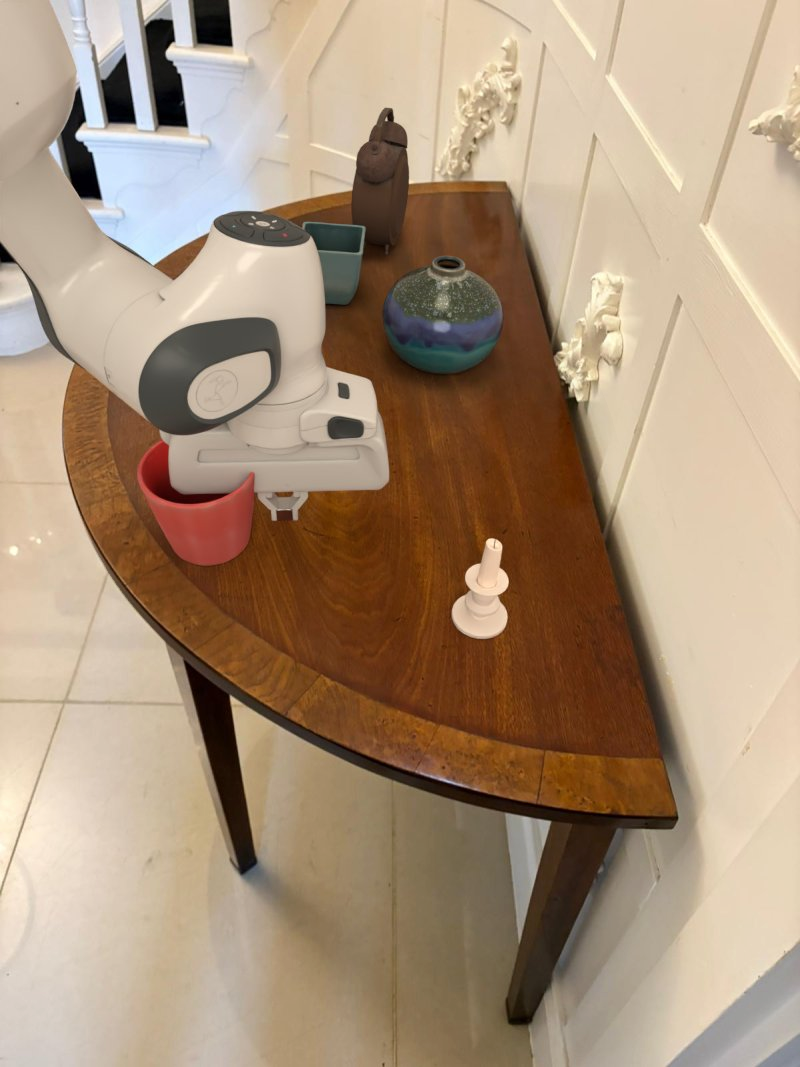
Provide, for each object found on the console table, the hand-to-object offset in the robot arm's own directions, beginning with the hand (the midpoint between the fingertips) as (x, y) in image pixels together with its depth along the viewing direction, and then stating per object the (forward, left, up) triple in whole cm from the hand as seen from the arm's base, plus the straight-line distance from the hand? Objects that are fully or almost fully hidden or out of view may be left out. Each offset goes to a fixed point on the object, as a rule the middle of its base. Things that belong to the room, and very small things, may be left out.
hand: (285, 516), depth 78 cm
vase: (+36, +10, -3) cm, 38 cm away
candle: (+5, -21, -3) cm, 22 cm away
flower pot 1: (-6, +5, -3) cm, 8 cm away
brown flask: (+54, +38, -3) cm, 66 cm away
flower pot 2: (+37, +31, -3) cm, 49 cm away
